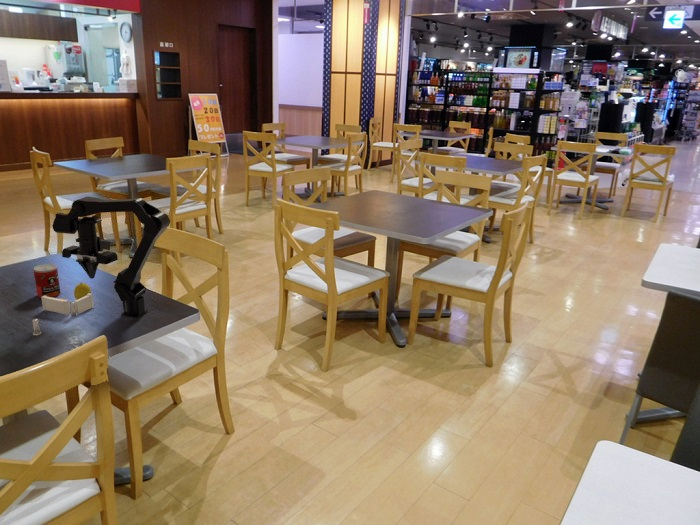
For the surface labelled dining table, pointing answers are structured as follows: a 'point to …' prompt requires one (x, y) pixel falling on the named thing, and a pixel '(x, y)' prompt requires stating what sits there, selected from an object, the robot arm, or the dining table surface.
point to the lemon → (81, 290)
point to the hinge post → (72, 309)
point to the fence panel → (84, 303)
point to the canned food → (47, 280)
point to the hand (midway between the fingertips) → (92, 278)
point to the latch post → (36, 327)
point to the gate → (55, 305)
